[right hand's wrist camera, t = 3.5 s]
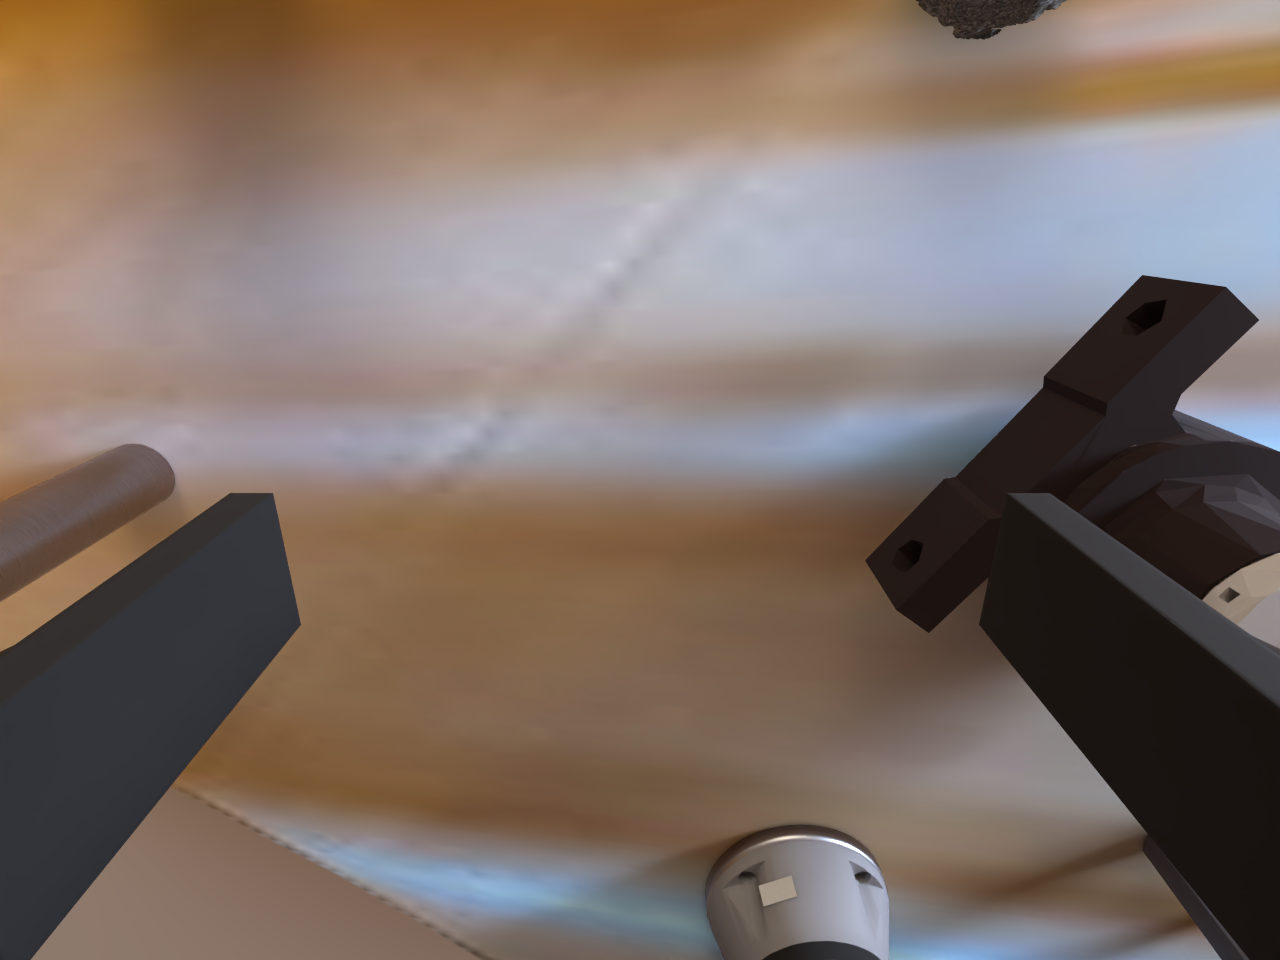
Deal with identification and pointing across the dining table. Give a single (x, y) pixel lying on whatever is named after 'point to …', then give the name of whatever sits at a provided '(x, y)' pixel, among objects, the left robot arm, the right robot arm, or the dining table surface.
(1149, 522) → the mechanical component
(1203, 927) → the planter
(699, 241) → the dining table surface
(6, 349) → the dining table surface
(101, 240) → the dining table surface
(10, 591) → the bottle
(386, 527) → the dining table surface
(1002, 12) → the rock
